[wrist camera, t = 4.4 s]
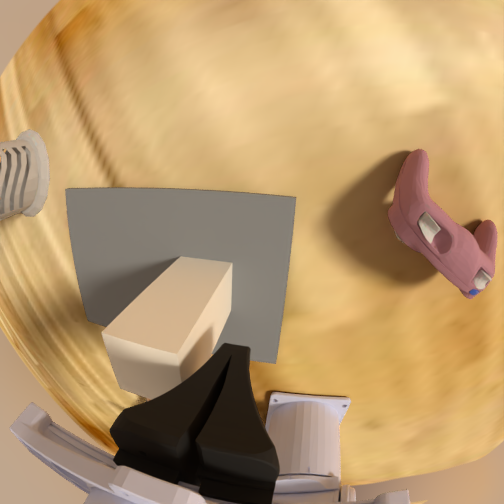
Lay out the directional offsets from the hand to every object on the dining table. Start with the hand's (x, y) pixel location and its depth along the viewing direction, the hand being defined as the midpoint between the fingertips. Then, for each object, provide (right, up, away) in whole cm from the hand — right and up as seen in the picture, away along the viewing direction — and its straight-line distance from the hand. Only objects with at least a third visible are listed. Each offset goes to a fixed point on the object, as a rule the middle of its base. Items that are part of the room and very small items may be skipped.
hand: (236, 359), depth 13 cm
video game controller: (+14, +8, +3) cm, 17 cm away
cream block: (-3, +3, +8) cm, 8 cm away
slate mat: (-7, +4, +8) cm, 11 cm away
